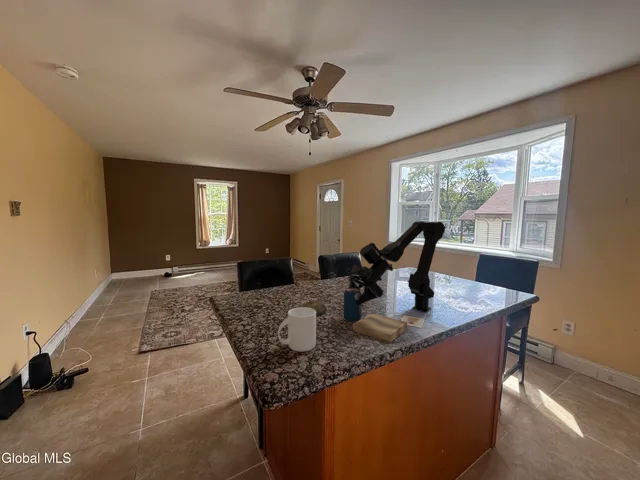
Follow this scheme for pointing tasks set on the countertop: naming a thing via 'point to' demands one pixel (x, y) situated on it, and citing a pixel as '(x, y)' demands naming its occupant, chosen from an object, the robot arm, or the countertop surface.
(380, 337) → the oak slab
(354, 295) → the soda can
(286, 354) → the countertop surface
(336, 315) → the countertop surface
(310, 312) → the mug
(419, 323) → the page
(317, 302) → the bread roll
